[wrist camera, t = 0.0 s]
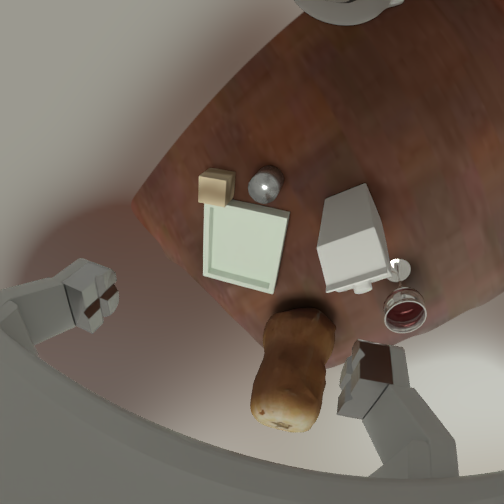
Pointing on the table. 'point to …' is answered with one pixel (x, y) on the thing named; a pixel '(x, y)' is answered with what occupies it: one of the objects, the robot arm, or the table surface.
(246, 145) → the table surface
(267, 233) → the tray
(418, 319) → the wineglass
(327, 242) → the milk carton
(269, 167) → the grey rounded cylinder
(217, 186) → the beech block
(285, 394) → the butternut squash
